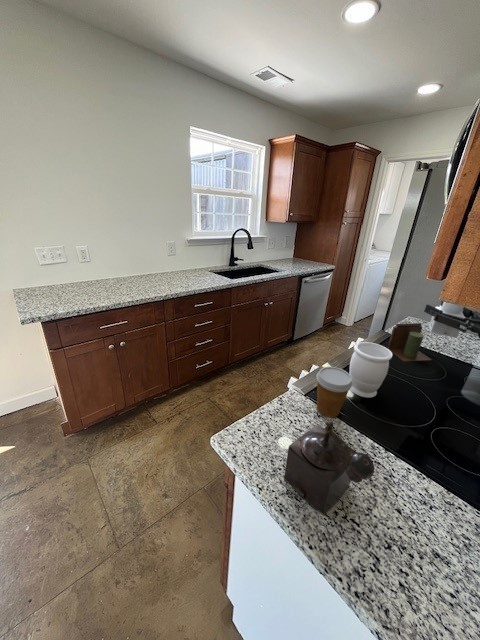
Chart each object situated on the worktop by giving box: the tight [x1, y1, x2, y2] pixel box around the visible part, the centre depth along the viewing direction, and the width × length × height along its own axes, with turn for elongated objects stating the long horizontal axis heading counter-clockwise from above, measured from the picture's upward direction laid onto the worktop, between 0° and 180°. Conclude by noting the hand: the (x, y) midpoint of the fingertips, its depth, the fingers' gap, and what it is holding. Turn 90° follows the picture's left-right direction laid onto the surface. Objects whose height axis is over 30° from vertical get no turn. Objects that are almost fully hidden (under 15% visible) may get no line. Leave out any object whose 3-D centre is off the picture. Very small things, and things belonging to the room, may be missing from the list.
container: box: [429, 300, 466, 339], centre depth 92 cm, size 8×8×13 cm
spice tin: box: [403, 332, 425, 358], centre depth 103 cm, size 5×5×9 cm
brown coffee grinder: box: [283, 420, 375, 515], centre depth 51 cm, size 16×11×18 cm
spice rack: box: [386, 322, 432, 362], centre depth 104 cm, size 12×10×12 cm
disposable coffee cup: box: [316, 366, 353, 418], centre depth 75 cm, size 10×10×12 cm
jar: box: [349, 341, 393, 399], centre depth 83 cm, size 11×10×15 cm
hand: (440, 307), depth 96 cm, fingers closed on container, 10 cm apart
